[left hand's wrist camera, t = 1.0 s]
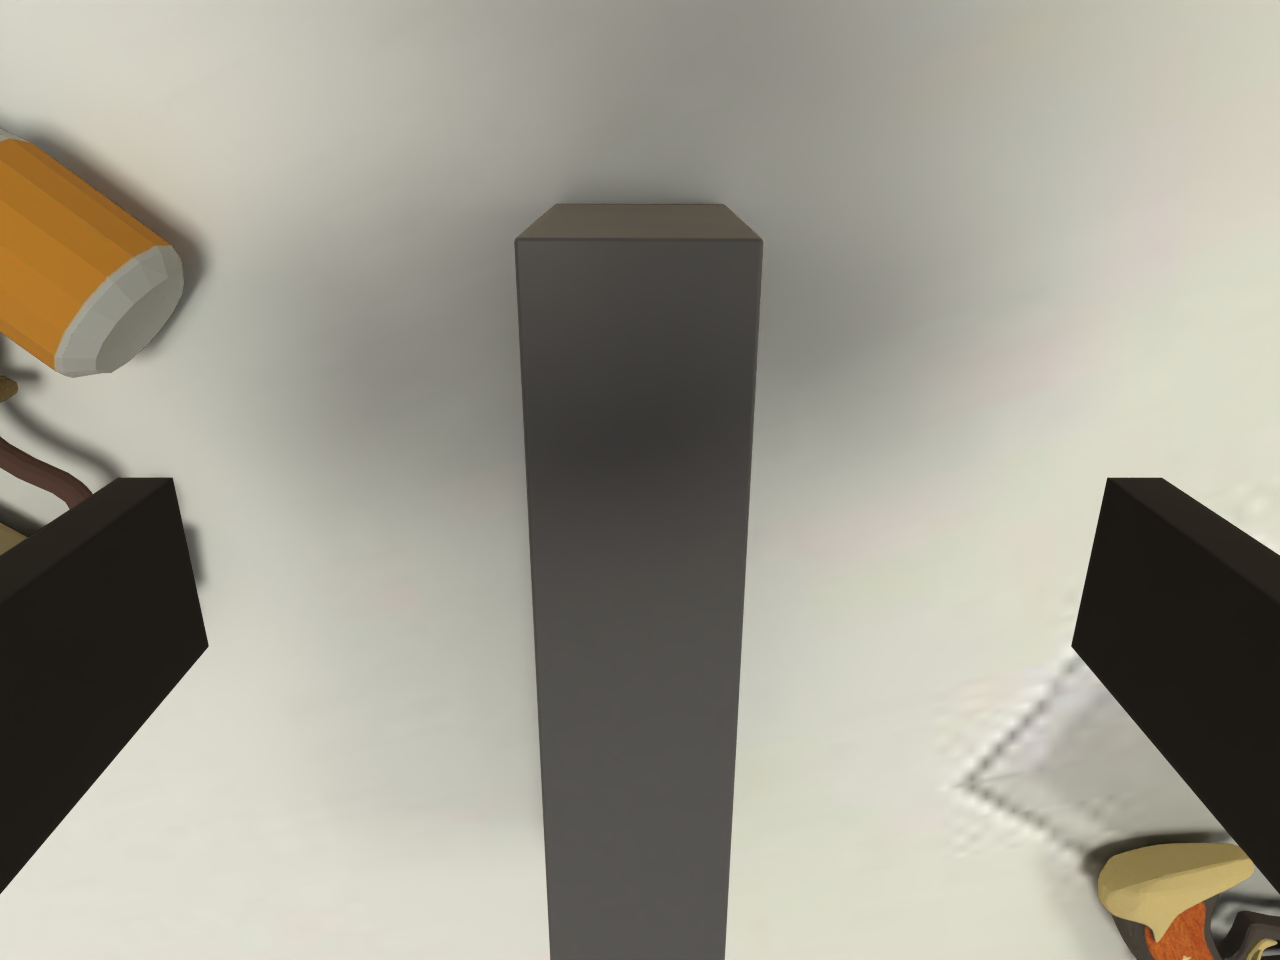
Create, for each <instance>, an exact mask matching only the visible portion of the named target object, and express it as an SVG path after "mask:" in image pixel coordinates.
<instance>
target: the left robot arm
mask: <svg viewBox="0 0 1280 960" xmlns="http://www.w3.org/2000/svg"><path fill="white" fill-rule="evenodd" d="M208 647H209V645H208V641H207V636H206V631H205V627H204V622H203V617H202V613H201V608H200V603H199V599H198V594H197V589H196V585H195V580H194V575H193V571H192V566H191V561H190V557H189V552H188V547H187V543H186V538H185V533H184V529H183V524H182V519H181V515H180V510H179V505H178V501H177V496H176V491H175V487H174V482H173V478H117V479H115V480H114V481H112V482H111V483H109V484H108V485H106V486H105V487H103V488H102V489H100V490H99V491H97V492H96V493H94V494H93V495H91V496H90V497H88V498H87V499H85V500H84V501H82V502H81V503H79V504H78V505H76V506H75V507H73V508H72V509H70V510H69V511H67V512H65V513H64V514H62V515H61V516H59V517H58V518H56V519H55V520H53V521H52V522H50V523H49V524H47V525H46V526H44V527H43V528H41V529H40V530H38V531H37V532H35V533H34V534H32V535H31V536H29V537H28V538H26V539H25V540H23V541H22V542H20V543H19V544H17V545H15V546H14V547H12V548H11V549H9V550H8V551H6V552H5V553H3V554H2V555H0V894H1V893H2V892H3V890H4V889H5V888H6V887H7V886H8V884H9V883H10V882H11V881H12V880H13V878H14V877H15V876H16V875H17V874H18V873H19V871H20V870H21V869H22V868H23V867H24V865H25V864H26V863H27V862H28V861H29V859H30V858H31V857H32V856H33V855H34V853H35V852H36V851H37V850H38V849H39V848H40V846H41V845H42V844H43V843H44V842H45V840H46V839H47V838H48V837H49V836H50V834H51V833H52V832H53V831H54V830H55V828H56V827H57V826H58V825H59V824H60V823H61V821H62V820H63V819H64V818H65V817H66V815H67V814H68V813H69V812H70V811H71V809H72V808H73V807H74V806H75V805H76V804H77V802H78V801H79V800H80V799H81V798H82V796H83V795H84V794H85V793H86V792H87V790H88V789H89V788H90V787H91V786H92V784H93V783H94V782H95V781H96V780H97V779H98V777H99V776H100V775H101V774H102V773H103V771H104V770H105V769H106V768H107V767H108V765H109V764H110V763H111V762H112V761H113V760H114V758H115V757H116V756H117V755H118V754H119V752H120V751H121V750H122V749H123V748H124V746H125V745H126V744H127V743H128V742H129V740H130V739H131V738H132V737H133V736H134V735H135V733H136V732H137V731H138V730H139V729H140V727H141V726H142V725H143V724H144V723H145V721H146V720H147V719H148V718H149V717H150V715H151V714H152V713H153V712H154V711H155V710H156V708H157V707H158V706H159V705H160V704H161V702H162V701H163V700H164V699H165V698H166V696H167V695H168V694H169V693H170V692H171V691H172V689H173V688H174V687H175V686H176V685H177V683H178V682H179V681H180V680H181V679H182V677H183V676H184V675H185V674H186V673H187V671H188V670H189V669H190V668H191V667H192V666H193V664H194V663H195V662H196V661H197V660H198V658H199V657H200V656H201V655H202V654H203V652H204V651H205V650H206V649H207V648H208ZM1071 647H1072V648H1073V649H1074V650H1075V651H1076V652H1077V654H1078V655H1079V656H1080V657H1081V658H1082V660H1083V661H1084V662H1085V663H1086V664H1087V666H1088V667H1089V668H1090V669H1091V670H1092V671H1093V673H1094V674H1095V675H1096V676H1097V677H1098V679H1099V680H1100V681H1101V682H1102V683H1103V685H1104V686H1105V687H1106V688H1107V689H1108V691H1109V692H1110V693H1111V694H1112V695H1113V696H1114V698H1115V699H1116V700H1117V701H1118V702H1119V704H1120V705H1121V706H1122V707H1123V708H1124V710H1125V711H1126V712H1127V713H1128V714H1129V716H1130V717H1131V718H1132V719H1133V720H1134V721H1135V723H1136V724H1137V725H1138V726H1139V727H1140V729H1141V730H1142V731H1143V732H1144V733H1145V735H1146V736H1147V737H1148V738H1149V739H1150V740H1151V742H1152V743H1153V744H1154V745H1155V746H1156V748H1157V749H1158V750H1159V751H1160V752H1161V754H1162V755H1163V756H1164V757H1165V758H1166V760H1167V761H1168V762H1169V763H1170V764H1171V765H1172V767H1173V768H1174V769H1175V770H1176V771H1177V773H1178V774H1179V775H1180V776H1181V777H1182V779H1183V780H1184V781H1185V782H1186V783H1187V784H1188V786H1189V787H1190V788H1191V789H1192V790H1193V792H1194V793H1195V794H1196V795H1197V796H1198V798H1199V799H1200V800H1201V801H1202V802H1203V804H1204V805H1205V806H1206V807H1207V808H1208V809H1209V811H1210V812H1211V813H1212V814H1213V815H1214V817H1215V818H1216V819H1217V820H1218V821H1219V823H1220V824H1221V825H1222V826H1223V827H1224V828H1225V830H1226V831H1227V832H1228V833H1229V834H1230V836H1231V837H1232V838H1233V839H1234V840H1235V842H1236V843H1237V844H1238V845H1239V846H1240V848H1241V849H1242V850H1243V851H1244V852H1245V853H1246V855H1247V856H1248V857H1249V858H1250V859H1251V861H1252V862H1253V863H1254V864H1255V865H1256V867H1257V868H1258V869H1259V870H1260V871H1261V873H1262V874H1263V875H1264V876H1265V877H1266V878H1267V880H1268V881H1269V882H1270V883H1271V884H1272V886H1273V887H1274V888H1275V889H1276V890H1277V892H1278V893H1279V894H1280V555H1278V554H1277V553H1275V552H1274V551H1272V550H1271V549H1269V548H1268V547H1266V546H1265V545H1263V544H1261V543H1260V542H1258V541H1257V540H1255V539H1254V538H1252V537H1251V536H1249V535H1248V534H1246V533H1245V532H1243V531H1242V530H1240V529H1239V528H1237V527H1236V526H1234V525H1233V524H1231V523H1230V522H1228V521H1227V520H1225V519H1224V518H1222V517H1221V516H1219V515H1218V514H1216V513H1215V512H1213V511H1211V510H1210V509H1208V508H1207V507H1205V506H1204V505H1202V504H1201V503H1199V502H1198V501H1196V500H1195V499H1193V498H1192V497H1190V496H1189V495H1187V494H1186V493H1184V492H1183V491H1181V490H1180V489H1178V488H1177V487H1175V486H1174V485H1172V484H1171V483H1169V482H1168V481H1166V480H1165V479H1163V478H1107V482H1106V487H1105V491H1104V496H1103V501H1102V505H1101V510H1100V515H1099V519H1098V524H1097V529H1096V533H1095V538H1094V543H1093V547H1092V552H1091V557H1090V561H1089V566H1088V571H1087V575H1086V580H1085V585H1084V589H1083V594H1082V599H1081V603H1080V608H1079V613H1078V617H1077V622H1076V627H1075V631H1074V636H1073V641H1072V645H1071Z"/></svg>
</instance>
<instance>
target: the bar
mask: <svg viewBox="0 0 1280 960" xmlns="http://www.w3.org/2000/svg"><path fill="white" fill-rule="evenodd" d="M762 256H763V240H762V239H761V238H760V237H759V236H758V235H757V234H756V233H755V232H754V231H752V230H751V229H750V228H749V227H748V226H747V225H746V224H745V223H744V222H743V221H742V220H740V219H739V218H738V217H737V216H736V215H735V214H734V213H733V212H732V211H731V210H730V209H729V208H727V207H726V206H725V205H723V204H556V205H554V206H553V207H552V208H551V209H550V210H548V211H547V212H546V213H545V214H544V215H543V216H541V217H540V218H539V219H538V220H537V221H536V222H534V223H533V224H532V225H531V226H530V227H529V228H527V229H526V230H525V231H524V232H523V233H522V234H520V235H519V236H518V237H517V238H516V239H515V261H516V281H517V301H518V321H519V341H520V361H521V381H522V401H523V421H524V441H525V461H526V481H527V501H528V521H529V541H530V561H531V581H532V601H533V621H534V641H535V661H536V681H537V701H538V721H539V741H540V761H541V781H542V801H543V821H544V841H545V861H546V881H547V901H548V921H549V941H550V960H725V944H726V926H727V907H728V888H729V870H730V851H731V833H732V814H733V795H734V777H735V758H736V740H737V721H738V702H739V684H740V665H741V647H742V628H743V609H744V591H745V572H746V554H747V535H748V516H749V498H750V479H751V461H752V442H753V423H754V405H755V386H756V368H757V349H758V331H759V312H760V293H761V275H762Z"/></svg>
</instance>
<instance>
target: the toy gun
mask: <svg viewBox="0 0 1280 960" xmlns="http://www.w3.org/2000/svg"><path fill="white" fill-rule="evenodd" d="M1253 872H1254V863H1253V862H1252V861H1251V859H1250V858H1249V857H1248V856H1247V855H1246V853H1245V852H1244V851H1243V850H1242V849H1241V848H1240V847H1239V846H1236V845H1233V844H1227V843H1173V844H1160V845H1153V846H1147V847H1143V848H1138V849H1134V850H1130V851H1127V852H1124V853H1121V854H1117V855H1114V856H1113V857H1111V858H1110V859H1109V860H1108V861H1107V863H1106V865H1105V866H1104V868H1103V870H1102V871H1101V873H1100V875H1099V879H1098V898H1099V900H1100V901H1101V903H1102V904H1103V906H1104V907H1105V908H1106V909H1107V910H1108V911H1109V912H1110V913H1112V915H1113V918H1114V921H1115V923H1116V926H1117V928H1118V930H1119V932H1120V934H1121V936H1122V938H1123V940H1124V941H1125V943H1126V944H1127V946H1128V947H1129V949H1130V950H1131V952H1132V953H1133V955H1134V956H1135V957H1136V958H1137V960H1280V955H1272V956H1262V953H1263V951H1264V950H1265V949H1266V948H1267V947H1270V946H1273V945H1276V944H1277V942H1276V941H1275V940H1280V917H1277V916H1269V915H1264V914H1259V913H1255V912H1250V911H1241V912H1239V913H1237V915H1236V918H1235V920H1234V923H1233V926H1232V928H1231V929H1230V931H1229V933H1228V935H1227V936H1226V938H1225V939H1224V940H1223V941H1222V942H1221V943H1220V944H1218V945H1216V946H1215V944H1214V941H1213V938H1212V935H1211V930H1210V923H1211V917H1212V913H1213V910H1214V907H1215V904H1216V902H1217V900H1218V897H1219V895H1220V893H1221V892H1223V891H1225V890H1227V889H1229V888H1231V887H1233V886H1235V885H1237V884H1238V883H1240V882H1242V881H1243V880H1245V879H1247V878H1249V877H1250V876H1251V875H1252V873H1253ZM1261 956H1262V957H1261Z"/></svg>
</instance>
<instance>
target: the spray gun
mask: <svg viewBox="0 0 1280 960" xmlns="http://www.w3.org/2000/svg"><path fill="white" fill-rule="evenodd" d="M183 286H184V277H183V269H182V262H181V259H180V257H179V256H178V254H177V253H176V251H175V250H174V248H173V247H172V245H170V244H169V243H168V242H166V241H165V240H164V239H162V238H161V237H160V236H158V235H157V234H155V233H154V232H153V231H151V230H150V229H149V228H147V227H146V226H145V225H143V224H142V223H140V222H139V221H138V220H136V219H135V218H134V217H132V216H131V215H130V214H128V213H127V212H125V211H124V210H123V209H121V208H120V207H119V206H117V205H116V204H115V203H113V202H112V201H110V200H109V199H108V198H106V197H105V196H104V195H102V194H101V193H99V192H98V191H97V190H95V189H94V188H93V187H91V186H90V185H89V184H87V183H86V182H84V181H83V180H82V179H80V178H79V177H78V176H76V175H75V174H74V173H72V172H71V171H69V170H68V169H67V168H65V167H64V166H63V165H61V164H60V163H59V162H57V161H56V160H54V159H53V158H52V157H50V156H49V155H48V154H46V153H45V152H44V151H42V150H41V149H39V148H38V147H37V146H35V145H34V144H33V143H31V142H29V141H27V140H25V139H22V138H20V137H18V136H16V135H13V134H11V133H9V132H7V131H4V130H2V129H0V332H1V333H3V334H4V335H5V336H7V337H8V338H10V339H11V340H12V341H14V342H15V343H17V344H18V345H19V346H21V347H22V348H24V349H25V350H26V351H28V352H29V353H31V354H32V355H33V356H35V357H36V358H38V359H39V360H41V361H42V362H43V363H45V364H46V365H48V366H49V367H50V368H52V369H53V370H55V371H56V372H59V373H61V374H63V375H65V376H69V377H73V378H74V377H80V376H86V375H93V374H99V373H112V372H113V371H115V370H116V369H118V368H119V367H121V366H123V365H124V364H126V363H127V362H128V361H130V360H131V359H132V358H133V357H134V356H135V355H136V354H138V353H139V352H140V351H141V350H142V349H143V348H144V347H145V346H146V345H147V344H148V343H149V342H150V341H151V340H152V339H153V338H154V336H155V335H156V334H157V333H158V332H159V331H160V330H161V328H162V327H163V326H164V324H165V323H166V321H167V320H168V319H169V317H170V316H171V314H172V313H173V312H174V310H175V308H176V306H177V304H178V302H179V300H180V298H181V296H182V292H183ZM17 391H18V386H17V383H16V382H14V381H13V380H11V379H9V378H7V377H5V376H0V403H1V402H3V401H4V400H6V399H8V398H9V397H11V396H13V395H15V394H16V393H17ZM0 468H2V469H4V470H5V471H7V472H9V473H10V474H12V475H14V476H15V477H17V478H19V479H21V480H24V481H26V482H28V483H30V484H33V485H35V486H37V487H40V488H42V489H44V490H47V491H49V492H51V493H53V494H55V495H56V496H57V497H59V498H60V499H62V500H63V501H65V502H66V504H67V505H68V507H69V509H72V508H73V507H75V506H76V505H78V504H79V503H81V502H82V501H84V500H85V499H87V498H88V497H90V496H91V495H93V494H92V492H91V491H90V490H89V489H88V488H87V487H86V486H85V485H84V484H83V483H82V482H81V481H79V480H78V479H76V478H75V477H73V476H72V475H71V474H69V473H67V472H65V471H63V470H60V469H58V468H56V467H54V466H51V465H49V464H47V463H45V462H42V461H40V460H38V459H36V458H34V457H32V456H30V455H28V454H27V453H25V452H23V451H21V450H20V449H18V448H16V447H14V446H12V445H11V444H9V443H8V442H7V441H5V440H4V439H3V438H1V437H0ZM26 538H28V537H26V536H24V535H22V534H20V533H18V532H17V531H15V530H13V529H11V528H9V527H7V526H5V525H3V524H2V523H0V555H2V554H3V553H5V552H6V551H8V550H9V549H11V548H12V547H14V546H15V545H17V544H19V543H20V542H22V541H23V540H25V539H26Z"/></svg>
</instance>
